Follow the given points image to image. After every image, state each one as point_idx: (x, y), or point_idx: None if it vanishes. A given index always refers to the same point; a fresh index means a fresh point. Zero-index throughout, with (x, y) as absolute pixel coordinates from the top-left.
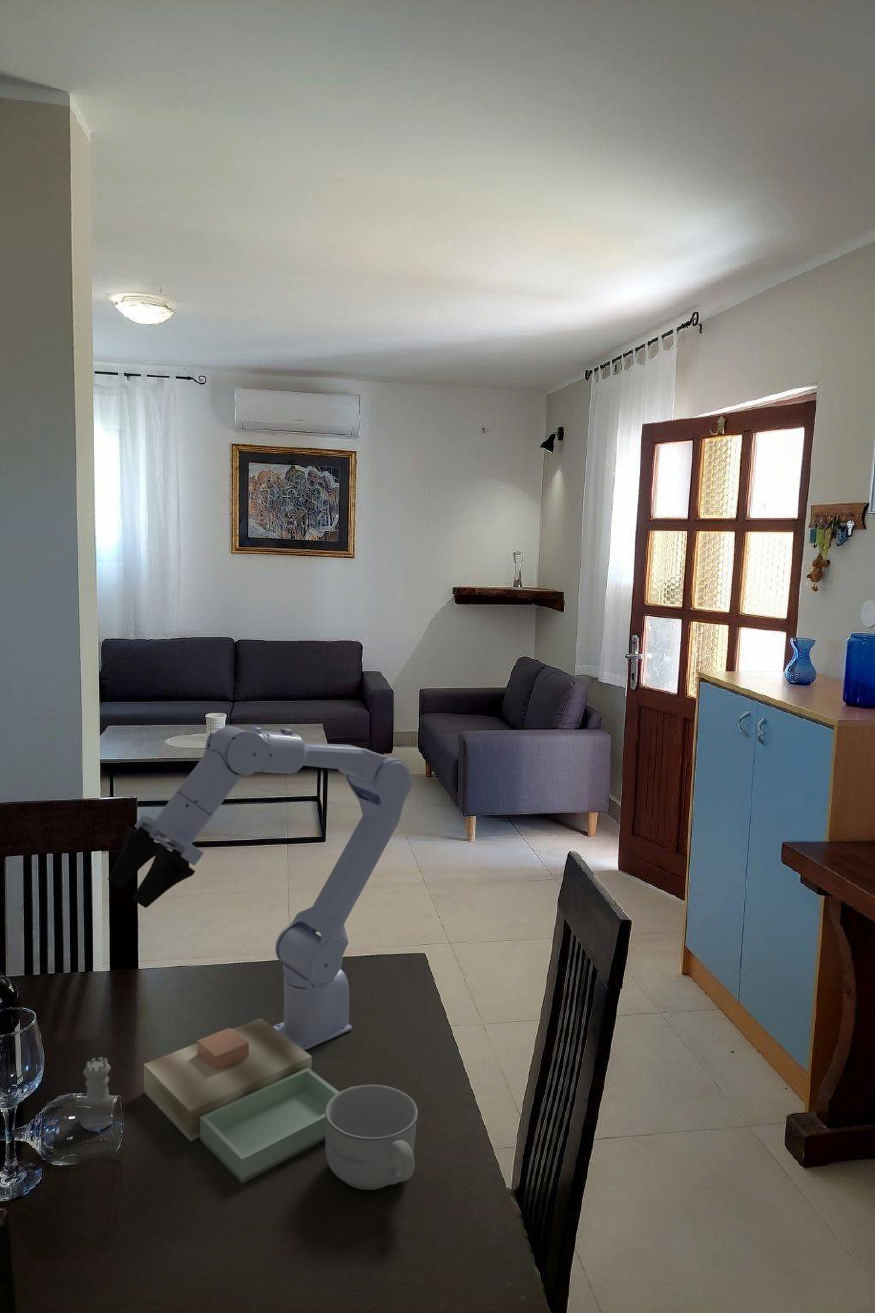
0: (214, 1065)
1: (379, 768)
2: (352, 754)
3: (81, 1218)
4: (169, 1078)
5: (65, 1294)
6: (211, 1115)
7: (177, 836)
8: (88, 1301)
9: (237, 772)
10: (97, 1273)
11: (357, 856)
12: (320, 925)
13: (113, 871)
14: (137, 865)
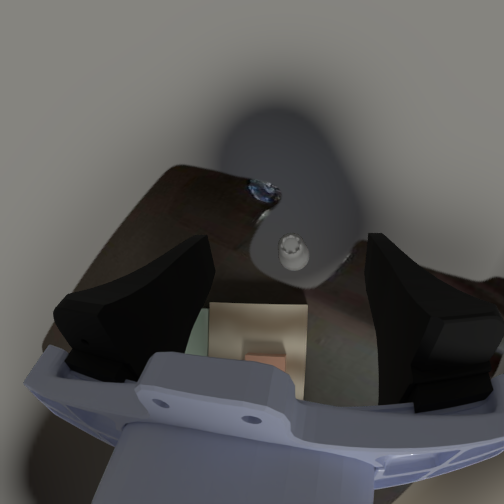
0: (249, 353)
1: None
2: None
3: (201, 208)
4: (267, 313)
5: (158, 184)
6: (204, 317)
7: (68, 397)
8: (146, 193)
9: None
10: (158, 202)
11: None
12: None
13: (379, 241)
14: (380, 329)
